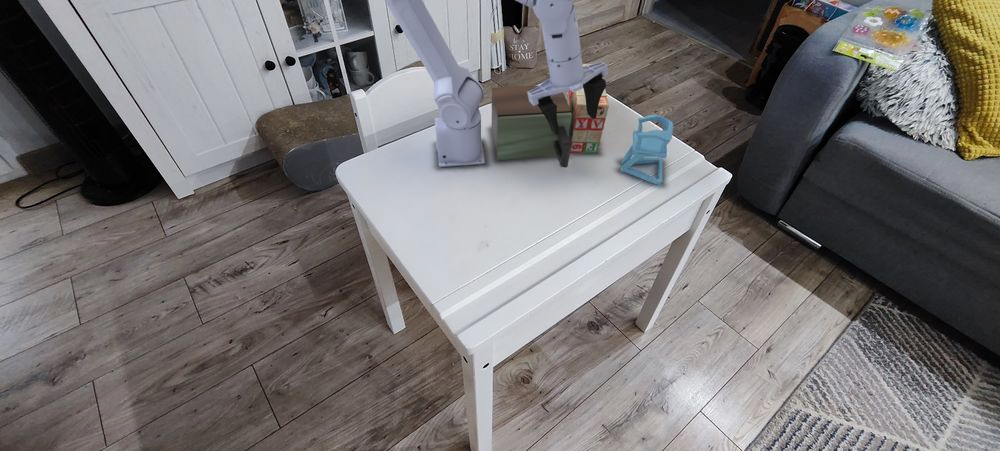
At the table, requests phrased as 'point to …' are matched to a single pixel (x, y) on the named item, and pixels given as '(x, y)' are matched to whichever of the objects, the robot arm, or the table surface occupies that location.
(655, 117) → the chair
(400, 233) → the table surface
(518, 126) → the cupboard door
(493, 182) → the table surface
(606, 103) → the stack of blocks
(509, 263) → the table surface
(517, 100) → the cupboard
